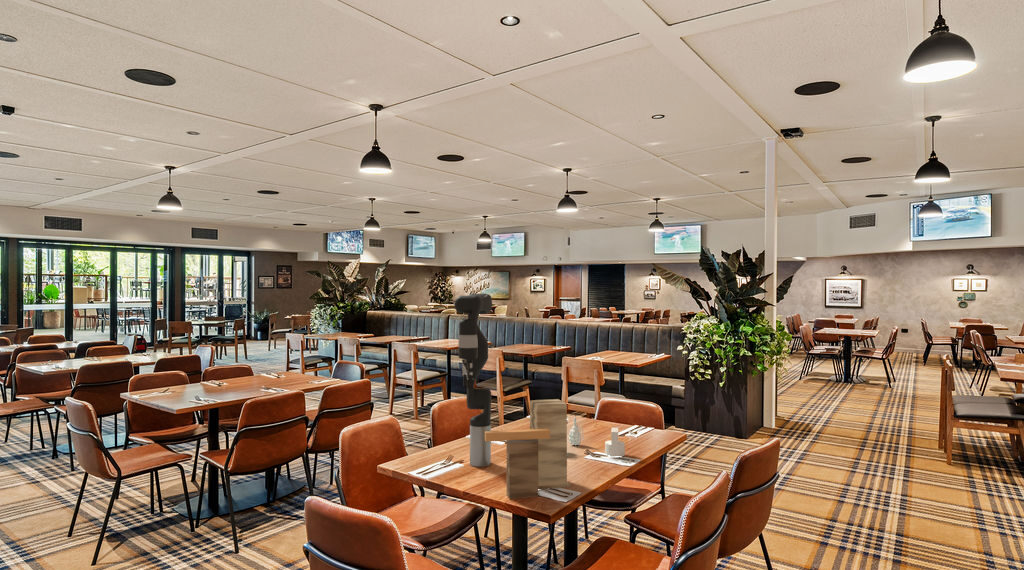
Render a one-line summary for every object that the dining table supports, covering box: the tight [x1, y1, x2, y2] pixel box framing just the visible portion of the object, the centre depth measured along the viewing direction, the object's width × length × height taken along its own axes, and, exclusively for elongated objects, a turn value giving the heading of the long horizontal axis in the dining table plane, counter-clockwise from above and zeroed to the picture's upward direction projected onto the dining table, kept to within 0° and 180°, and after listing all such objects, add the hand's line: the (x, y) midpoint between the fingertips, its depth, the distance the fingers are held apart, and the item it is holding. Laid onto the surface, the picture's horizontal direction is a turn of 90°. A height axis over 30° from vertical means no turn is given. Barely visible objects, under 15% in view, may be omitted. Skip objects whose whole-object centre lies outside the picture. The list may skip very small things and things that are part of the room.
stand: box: [529, 398, 571, 490], centre depth 220 cm, size 12×14×32 cm
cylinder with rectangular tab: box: [604, 427, 626, 456], centre depth 258 cm, size 9×9×12 cm
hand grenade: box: [568, 416, 585, 446], centre depth 276 cm, size 8×6×14 cm
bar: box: [485, 428, 550, 442], centre depth 206 cm, size 3×24×3 cm, turn 100°
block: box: [506, 439, 539, 500], centre depth 206 cm, size 4×11×21 cm, turn 104°
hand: (468, 387), depth 218 cm, fingers open, 8 cm apart
